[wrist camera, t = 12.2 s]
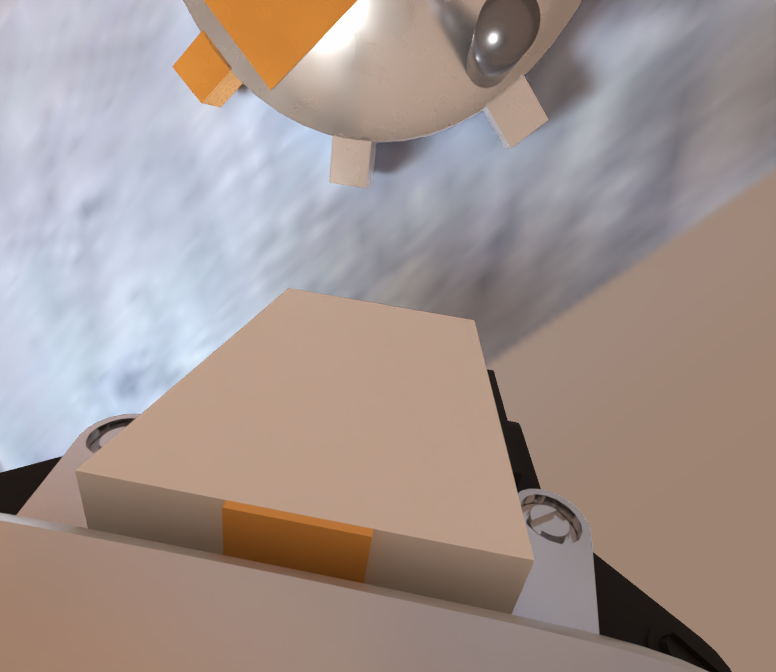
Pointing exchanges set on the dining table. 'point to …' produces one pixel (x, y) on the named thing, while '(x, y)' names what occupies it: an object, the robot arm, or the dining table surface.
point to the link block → (329, 455)
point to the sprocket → (376, 66)
